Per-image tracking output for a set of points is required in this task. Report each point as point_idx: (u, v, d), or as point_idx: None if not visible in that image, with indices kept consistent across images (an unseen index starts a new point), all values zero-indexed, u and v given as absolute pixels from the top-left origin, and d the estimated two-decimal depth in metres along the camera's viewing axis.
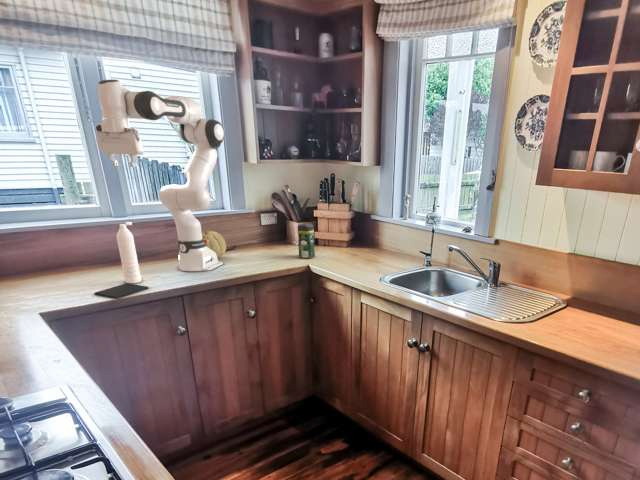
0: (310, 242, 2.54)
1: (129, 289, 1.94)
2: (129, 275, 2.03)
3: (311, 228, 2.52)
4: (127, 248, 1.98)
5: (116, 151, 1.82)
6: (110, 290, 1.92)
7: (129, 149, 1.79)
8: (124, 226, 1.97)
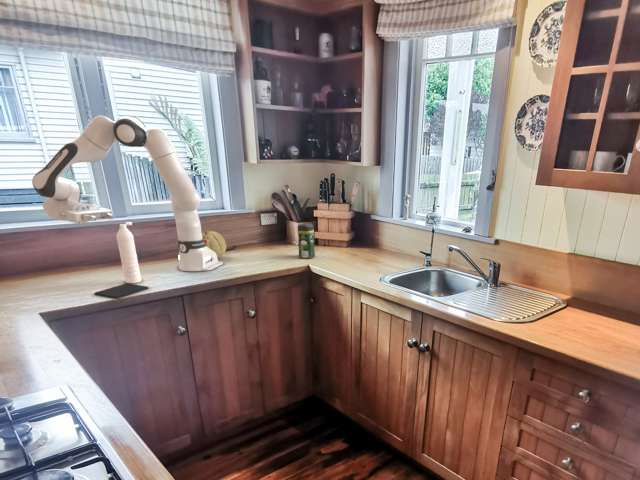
0: (310, 242, 2.54)
1: (129, 289, 1.94)
2: (129, 275, 2.03)
3: (311, 228, 2.52)
4: (127, 248, 1.98)
5: None
6: (110, 290, 1.92)
7: None
8: (124, 226, 1.97)
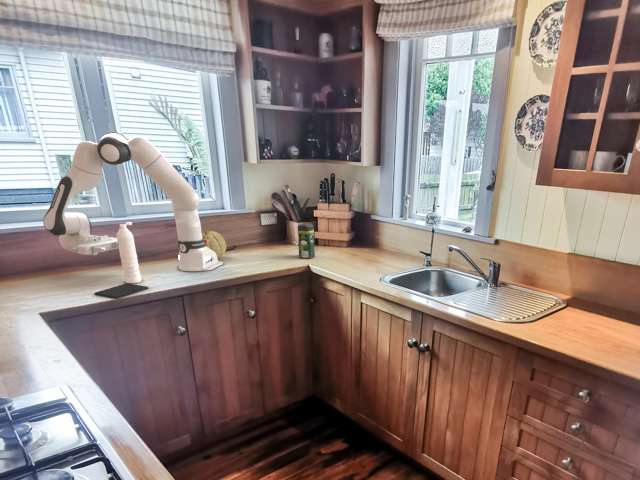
0: (310, 242, 2.54)
1: (129, 289, 1.94)
2: (129, 275, 2.03)
3: (311, 228, 2.52)
4: (127, 248, 1.98)
5: (106, 250, 2.09)
6: (110, 290, 1.92)
7: None
8: (124, 226, 1.97)
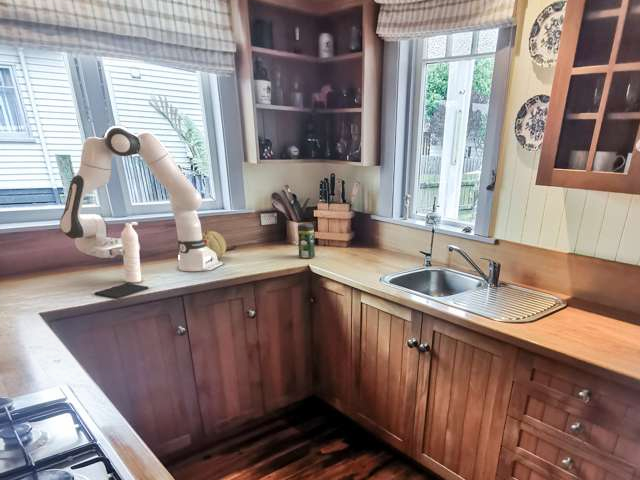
0: (310, 242, 2.54)
1: (129, 289, 1.94)
2: (130, 274, 2.03)
3: (311, 228, 2.52)
4: (130, 247, 1.99)
5: None
6: (110, 290, 1.92)
7: None
8: (130, 225, 1.98)
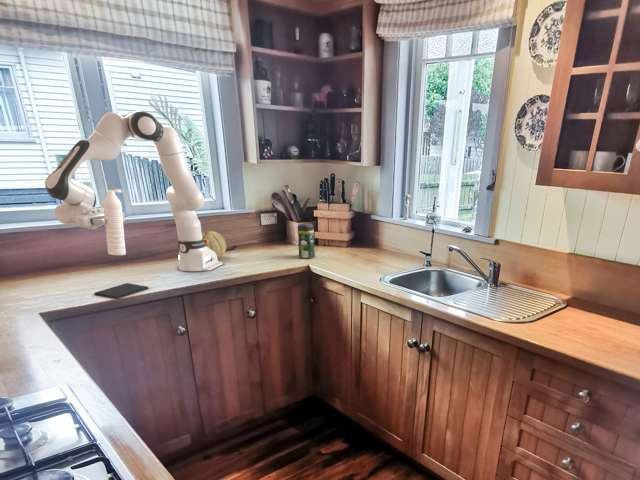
0: (310, 242, 2.54)
1: (129, 289, 1.94)
2: (113, 246, 1.87)
3: (311, 228, 2.52)
4: (113, 216, 1.83)
5: None
6: (110, 290, 1.92)
7: None
8: (113, 192, 1.81)
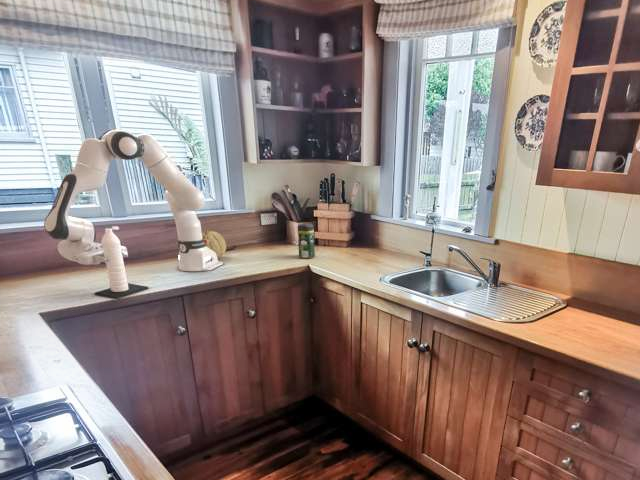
0: (310, 242, 2.54)
1: (129, 289, 1.94)
2: (115, 283, 1.88)
3: (311, 228, 2.52)
4: (112, 254, 1.84)
5: None
6: (110, 290, 1.92)
7: None
8: (110, 230, 1.82)
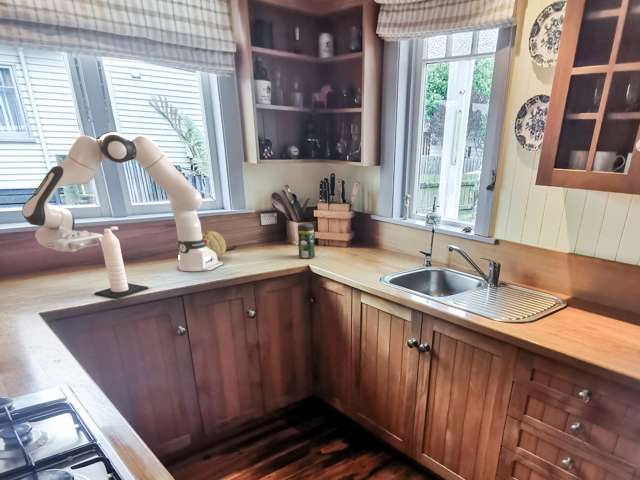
0: (310, 242, 2.54)
1: (129, 289, 1.94)
2: (115, 283, 1.88)
3: (311, 228, 2.52)
4: (112, 254, 1.84)
5: None
6: (110, 290, 1.92)
7: None
8: (109, 231, 1.82)
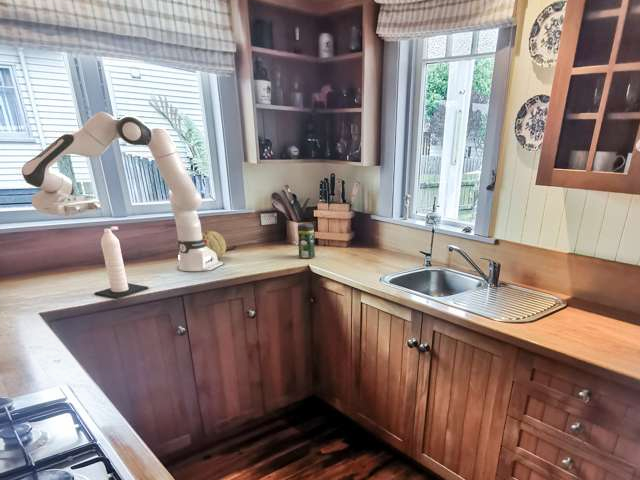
0: (310, 242, 2.54)
1: (129, 289, 1.94)
2: (115, 283, 1.88)
3: (311, 228, 2.52)
4: (112, 254, 1.84)
5: (81, 211, 1.91)
6: (110, 290, 1.92)
7: None
8: (109, 231, 1.82)
